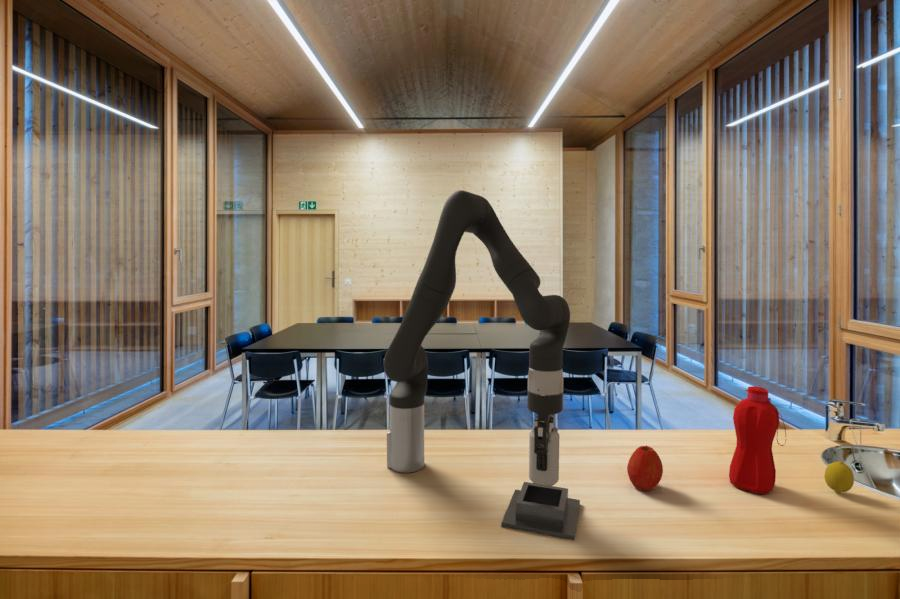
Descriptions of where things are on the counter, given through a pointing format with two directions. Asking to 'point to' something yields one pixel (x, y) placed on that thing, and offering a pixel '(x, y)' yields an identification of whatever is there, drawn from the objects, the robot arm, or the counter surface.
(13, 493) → the counter surface
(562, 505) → the grey square socket holder
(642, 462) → the apple
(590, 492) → the counter surface
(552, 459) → the beverage can
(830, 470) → the lemon
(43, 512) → the counter surface
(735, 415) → the water bottle
